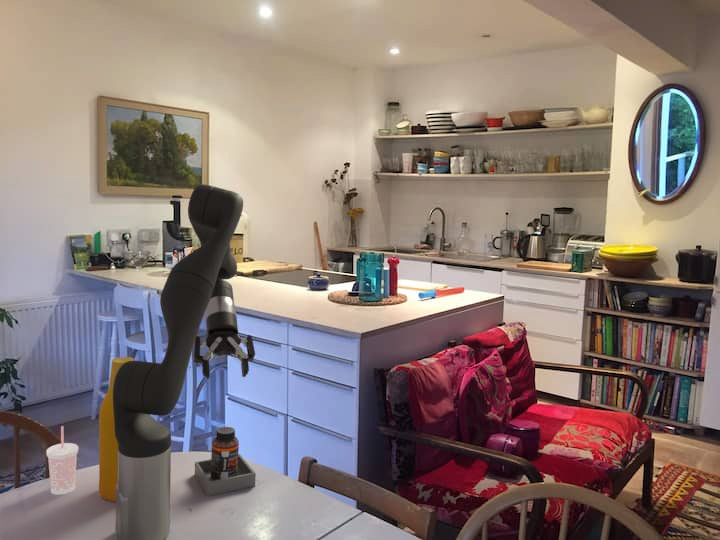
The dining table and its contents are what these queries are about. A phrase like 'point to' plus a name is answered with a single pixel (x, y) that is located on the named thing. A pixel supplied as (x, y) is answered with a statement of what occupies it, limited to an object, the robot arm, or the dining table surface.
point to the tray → (213, 487)
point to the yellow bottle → (109, 439)
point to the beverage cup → (62, 466)
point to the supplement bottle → (224, 454)
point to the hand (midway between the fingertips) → (226, 376)
